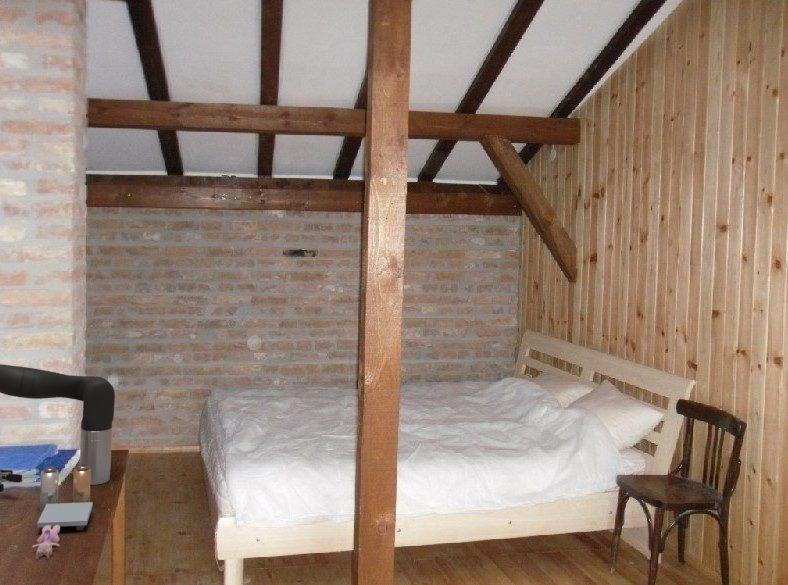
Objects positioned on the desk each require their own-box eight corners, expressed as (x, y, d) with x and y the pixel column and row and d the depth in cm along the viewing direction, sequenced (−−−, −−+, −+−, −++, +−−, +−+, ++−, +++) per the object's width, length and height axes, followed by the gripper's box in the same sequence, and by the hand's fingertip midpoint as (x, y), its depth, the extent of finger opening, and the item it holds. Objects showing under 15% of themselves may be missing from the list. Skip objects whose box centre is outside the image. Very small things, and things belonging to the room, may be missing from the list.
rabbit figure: (56, 564, 176) (66, 530, 190) (56, 542, 174) (66, 510, 188) (28, 566, 174) (40, 532, 188) (28, 543, 173) (40, 511, 187)
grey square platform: (46, 515, 202) (46, 503, 202) (92, 513, 205) (92, 502, 205) (36, 534, 188) (37, 522, 188) (86, 532, 192) (86, 520, 192)
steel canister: (37, 508, 206) (38, 467, 205) (53, 505, 209) (55, 464, 209) (42, 513, 203) (44, 471, 202) (59, 510, 206) (61, 468, 205)
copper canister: (69, 506, 210) (71, 465, 209) (85, 502, 213) (87, 462, 212) (76, 510, 206) (77, 469, 206) (92, 507, 210) (93, 467, 209)
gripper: (-58, 472, 201) (-3, 478, 199) (-24, 458, 215) (27, 463, 213) (-59, 499, 201) (-4, 504, 200) (-25, 483, 215) (27, 488, 214)
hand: (12, 483), depth 207 cm, fingers open, 8 cm apart
